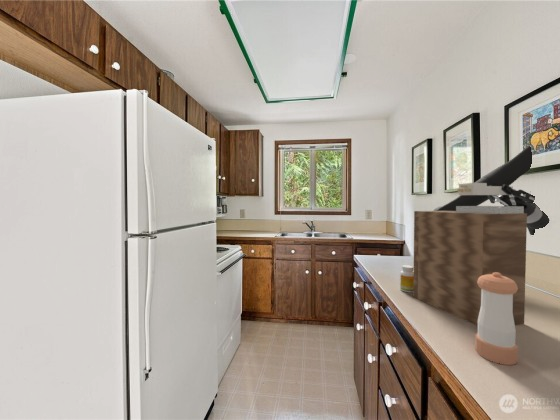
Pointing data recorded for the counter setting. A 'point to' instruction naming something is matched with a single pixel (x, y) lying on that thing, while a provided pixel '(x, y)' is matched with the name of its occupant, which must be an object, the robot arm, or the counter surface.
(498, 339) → the pepper shaker
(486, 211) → the socket block
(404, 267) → the supplement bottle
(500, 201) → the robot arm
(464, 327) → the counter surface
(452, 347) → the counter surface
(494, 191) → the plug
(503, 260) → the walnut shelf
